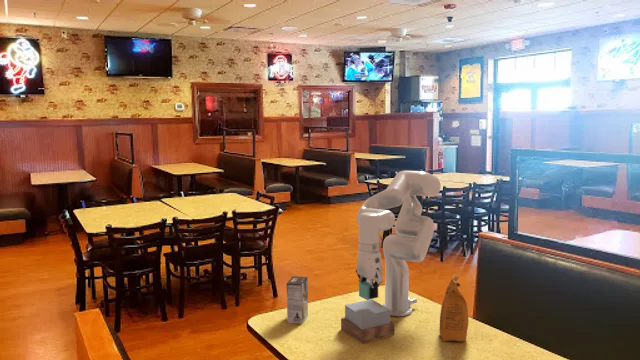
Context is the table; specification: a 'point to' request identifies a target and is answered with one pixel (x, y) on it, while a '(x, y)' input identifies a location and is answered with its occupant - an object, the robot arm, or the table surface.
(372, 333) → the tower base
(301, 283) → the coffee box
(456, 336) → the coffee package
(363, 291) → the teal block
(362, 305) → the tower top
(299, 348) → the table surface
